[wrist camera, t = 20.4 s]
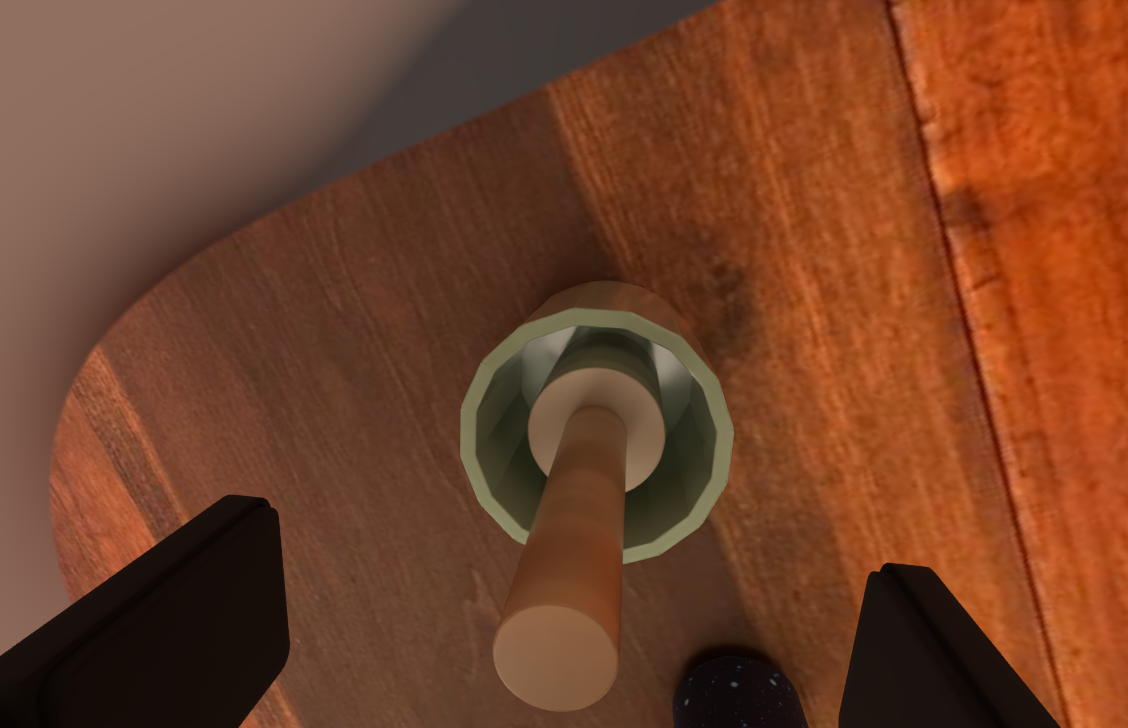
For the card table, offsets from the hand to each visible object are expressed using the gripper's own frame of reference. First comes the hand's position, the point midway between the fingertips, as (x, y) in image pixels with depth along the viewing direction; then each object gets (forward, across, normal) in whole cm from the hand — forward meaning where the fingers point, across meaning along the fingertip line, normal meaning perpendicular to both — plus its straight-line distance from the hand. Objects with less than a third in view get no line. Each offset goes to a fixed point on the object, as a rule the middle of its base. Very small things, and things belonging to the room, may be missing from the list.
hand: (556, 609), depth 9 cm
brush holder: (+16, 0, +1) cm, 16 cm away
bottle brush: (+16, 0, +1) cm, 16 cm away
